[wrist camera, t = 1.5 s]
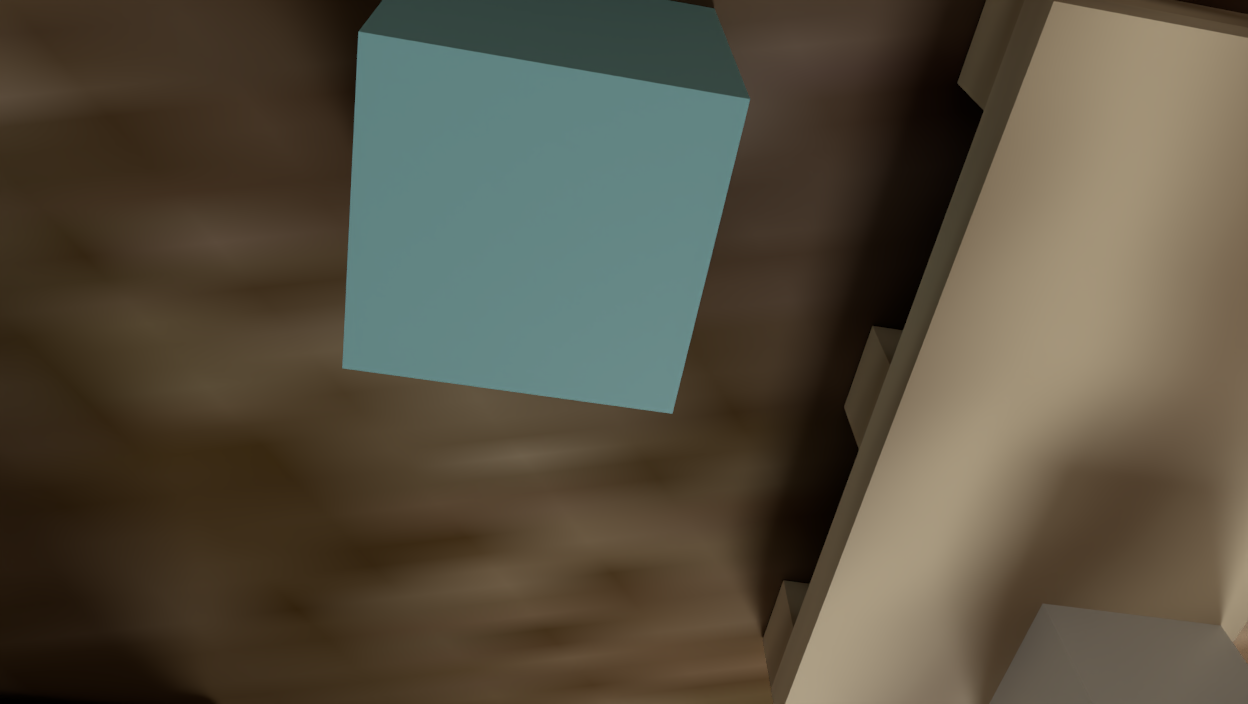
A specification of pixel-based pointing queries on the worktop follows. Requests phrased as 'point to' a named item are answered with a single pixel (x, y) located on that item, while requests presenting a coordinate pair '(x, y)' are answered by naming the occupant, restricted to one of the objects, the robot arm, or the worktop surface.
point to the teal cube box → (538, 193)
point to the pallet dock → (1051, 369)
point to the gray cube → (1122, 661)
